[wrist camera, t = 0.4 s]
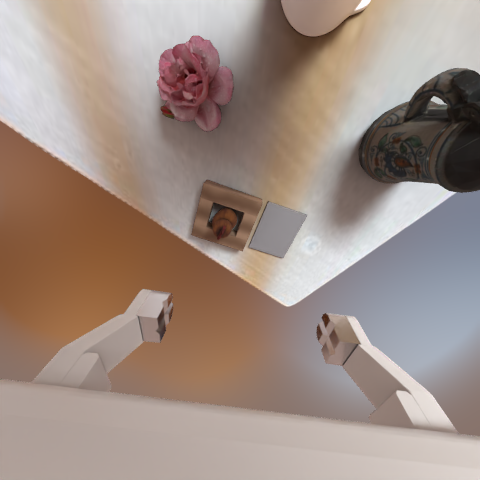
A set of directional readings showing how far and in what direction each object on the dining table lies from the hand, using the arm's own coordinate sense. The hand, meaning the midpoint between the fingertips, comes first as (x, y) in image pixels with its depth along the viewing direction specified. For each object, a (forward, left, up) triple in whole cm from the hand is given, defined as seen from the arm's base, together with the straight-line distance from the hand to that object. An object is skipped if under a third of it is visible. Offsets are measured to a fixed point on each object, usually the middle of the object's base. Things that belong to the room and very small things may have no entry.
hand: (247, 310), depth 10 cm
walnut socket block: (+15, -2, -45) cm, 47 cm away
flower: (-11, -16, -45) cm, 50 cm away
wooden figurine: (+15, -2, -45) cm, 48 cm away
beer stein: (-16, +29, -45) cm, 56 cm away
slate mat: (+15, +14, -45) cm, 49 cm away
